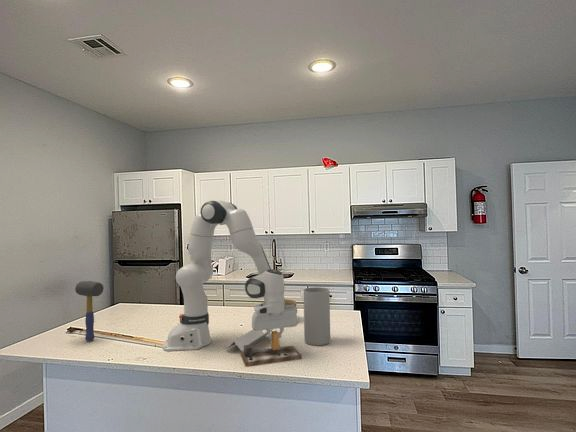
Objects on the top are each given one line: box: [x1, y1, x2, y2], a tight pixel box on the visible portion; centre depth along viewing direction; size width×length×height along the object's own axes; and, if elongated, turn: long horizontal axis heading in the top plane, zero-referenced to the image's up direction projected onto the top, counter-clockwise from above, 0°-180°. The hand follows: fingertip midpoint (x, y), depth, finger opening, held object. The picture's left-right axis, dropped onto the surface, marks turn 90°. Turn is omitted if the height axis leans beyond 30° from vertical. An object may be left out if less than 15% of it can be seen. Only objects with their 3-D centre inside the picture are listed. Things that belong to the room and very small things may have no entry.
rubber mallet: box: [74, 280, 104, 343], centre depth 173 cm, size 12×8×30 cm, turn 69°
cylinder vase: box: [303, 286, 331, 347], centre depth 166 cm, size 12×12×25 cm
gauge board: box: [240, 345, 303, 367], centre depth 148 cm, size 24×12×5 cm, turn 107°
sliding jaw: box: [270, 330, 281, 356], centre depth 149 cm, size 3×9×8 cm, turn 17°
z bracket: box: [224, 329, 274, 352], centre depth 164 cm, size 12×25×6 cm
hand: (275, 338), depth 151 cm, fingers closed on sliding jaw, 2 cm apart
